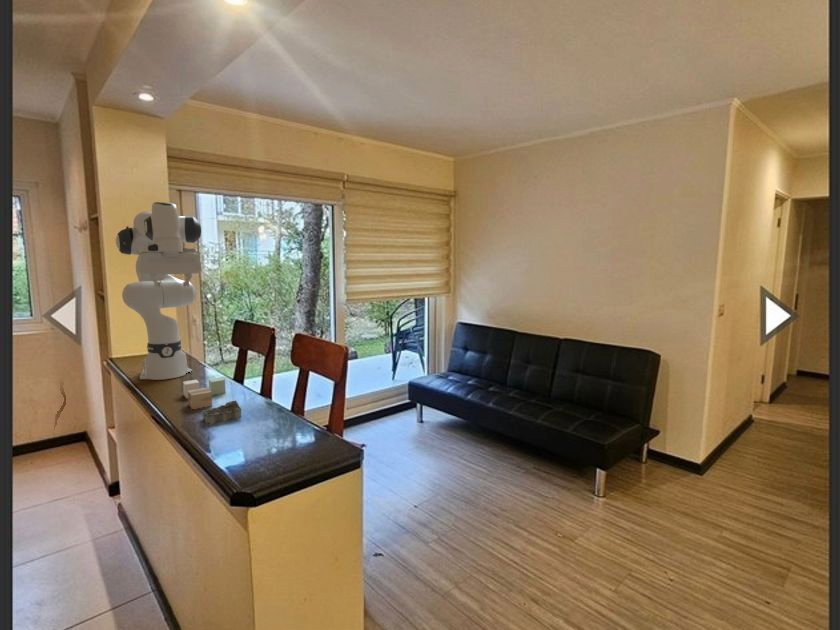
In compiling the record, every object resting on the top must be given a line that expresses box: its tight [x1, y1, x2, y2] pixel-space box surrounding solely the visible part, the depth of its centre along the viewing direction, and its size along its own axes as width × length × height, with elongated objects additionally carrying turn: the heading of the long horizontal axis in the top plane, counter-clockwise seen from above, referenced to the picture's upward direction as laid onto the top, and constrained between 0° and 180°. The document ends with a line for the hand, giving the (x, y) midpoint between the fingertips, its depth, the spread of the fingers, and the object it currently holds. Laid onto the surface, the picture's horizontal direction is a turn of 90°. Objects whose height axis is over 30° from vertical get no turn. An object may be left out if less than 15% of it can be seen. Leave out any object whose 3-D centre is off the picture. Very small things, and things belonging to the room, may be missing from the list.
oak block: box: [187, 387, 213, 410], centre depth 148 cm, size 6×6×5 cm
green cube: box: [208, 376, 227, 396], centre depth 161 cm, size 4×4×5 cm
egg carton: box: [201, 400, 242, 424], centre depth 137 cm, size 11×8×4 cm
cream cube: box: [182, 379, 201, 399], centre depth 158 cm, size 4×4×5 cm
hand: (172, 286), depth 159 cm, fingers open, 8 cm apart
